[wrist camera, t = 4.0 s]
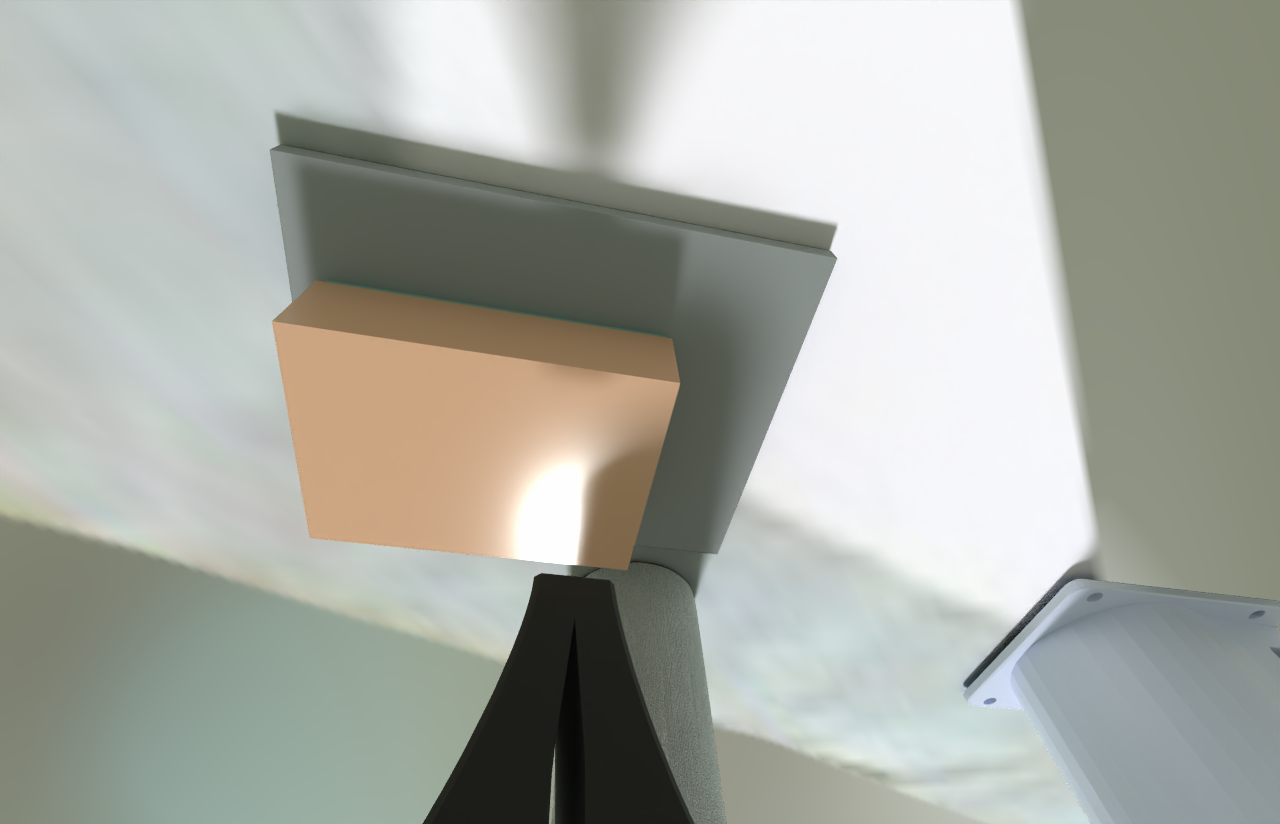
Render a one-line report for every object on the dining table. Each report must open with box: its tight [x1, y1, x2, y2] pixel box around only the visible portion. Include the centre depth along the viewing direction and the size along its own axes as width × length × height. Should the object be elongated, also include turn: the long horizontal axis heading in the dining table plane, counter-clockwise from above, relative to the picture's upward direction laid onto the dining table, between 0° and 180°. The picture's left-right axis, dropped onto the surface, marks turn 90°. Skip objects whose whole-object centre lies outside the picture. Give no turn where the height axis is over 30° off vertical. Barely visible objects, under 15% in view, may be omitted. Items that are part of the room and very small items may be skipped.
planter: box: [551, 563, 727, 824], centre depth 17 cm, size 4×4×10 cm
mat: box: [270, 145, 837, 554], centre depth 15 cm, size 12×10×1 cm
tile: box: [272, 280, 680, 570], centre depth 14 cm, size 2×6×8 cm
